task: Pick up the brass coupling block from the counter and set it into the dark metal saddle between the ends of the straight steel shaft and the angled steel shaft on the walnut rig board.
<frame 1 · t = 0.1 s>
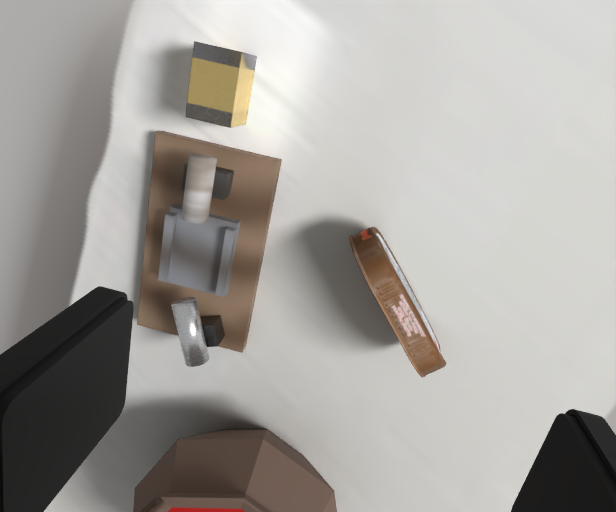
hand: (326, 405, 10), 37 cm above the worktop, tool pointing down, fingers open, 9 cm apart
shaft b: (201, 282, 51), resting on rig
rig: (206, 245, 50), on the worktop
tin: (397, 283, 48), on the worktop
coupler: (230, 85, 44), on the worktop
brown cooking pot: (254, 472, 59), on the worktop
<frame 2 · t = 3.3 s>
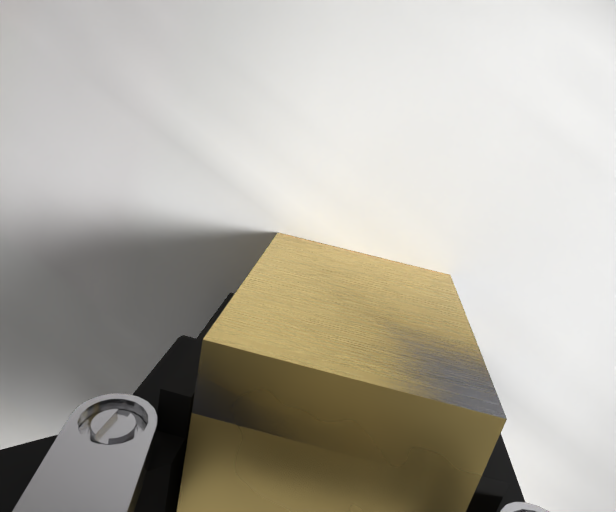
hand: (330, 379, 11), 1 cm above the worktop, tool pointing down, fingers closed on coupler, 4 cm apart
coupler: (333, 364, 12), on the worktop, touching gripper
when the fingers open (5 cm above the worktop, at t = 9.2 s): coupler drops 1 cm, resting on rig.
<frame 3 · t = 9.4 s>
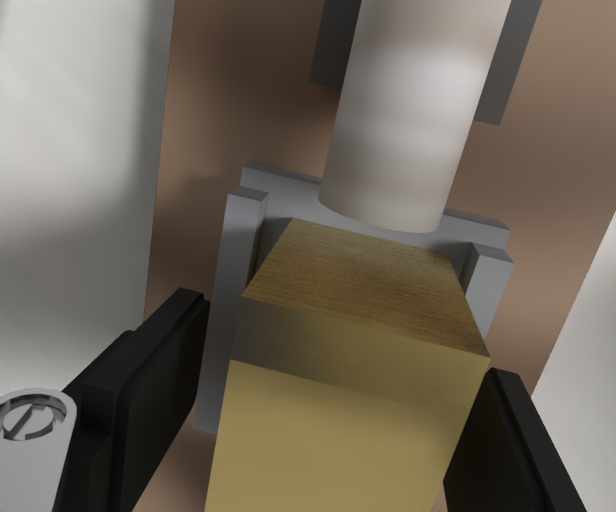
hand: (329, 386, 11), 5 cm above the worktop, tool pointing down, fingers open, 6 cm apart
rig: (343, 299, 16), on the worktop
coupler: (342, 336, 13), point 2 cm above the worktop, touching rig
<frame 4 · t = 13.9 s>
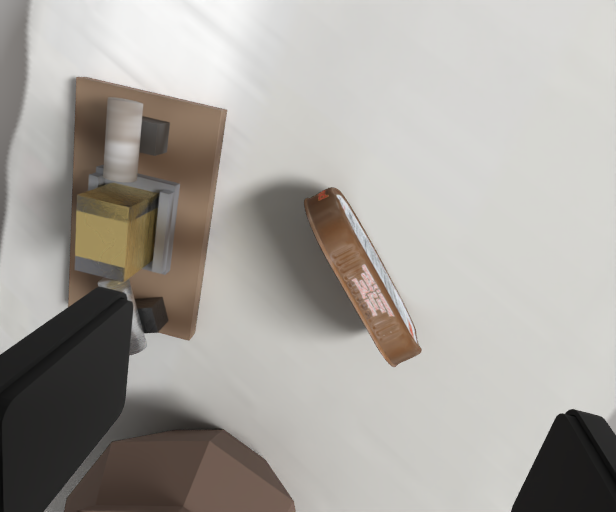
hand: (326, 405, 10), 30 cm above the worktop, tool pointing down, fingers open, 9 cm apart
shaft b: (141, 259, 44), resting on rig
rig: (145, 215, 42), on the worktop
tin: (366, 257, 41), on the worktop
coupler: (133, 222, 40), point 2 cm above the worktop, touching rig
brown cooking pot: (210, 478, 52), on the worktop
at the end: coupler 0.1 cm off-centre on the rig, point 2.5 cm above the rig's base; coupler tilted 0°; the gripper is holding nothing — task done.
